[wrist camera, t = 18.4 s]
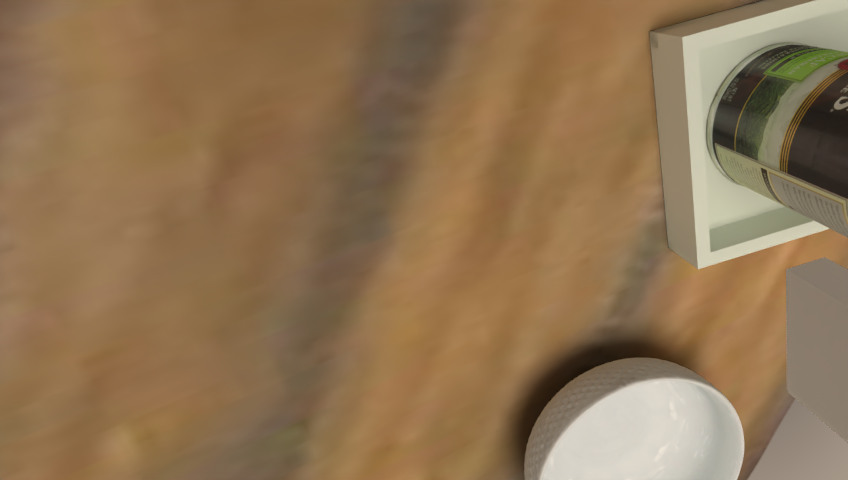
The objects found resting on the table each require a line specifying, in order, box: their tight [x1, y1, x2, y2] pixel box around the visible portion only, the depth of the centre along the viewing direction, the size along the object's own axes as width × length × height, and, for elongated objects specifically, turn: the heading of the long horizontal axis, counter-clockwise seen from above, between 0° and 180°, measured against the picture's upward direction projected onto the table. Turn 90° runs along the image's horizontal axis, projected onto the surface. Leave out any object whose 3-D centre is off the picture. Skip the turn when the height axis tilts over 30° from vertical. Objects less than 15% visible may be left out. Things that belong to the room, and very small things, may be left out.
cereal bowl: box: [524, 357, 744, 480], centre depth 52 cm, size 17×17×7 cm
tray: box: [649, 0, 848, 269], centre depth 46 cm, size 16×16×4 cm
